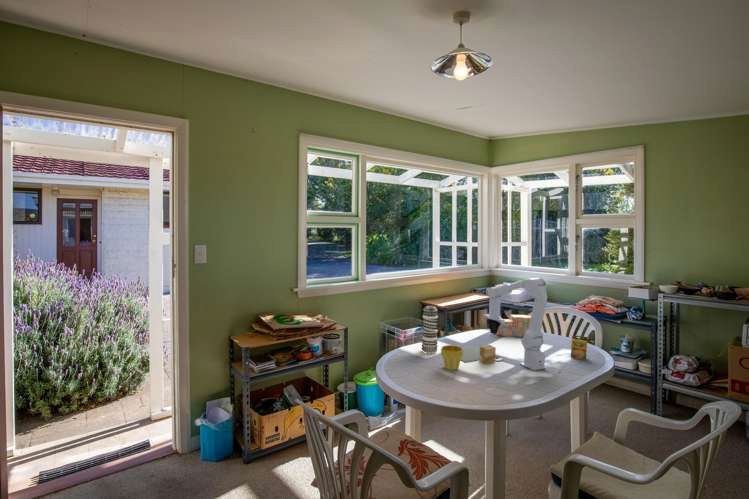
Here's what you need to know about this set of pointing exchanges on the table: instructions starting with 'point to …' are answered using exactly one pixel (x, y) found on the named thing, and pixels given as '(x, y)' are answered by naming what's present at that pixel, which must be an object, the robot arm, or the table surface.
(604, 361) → the table surface
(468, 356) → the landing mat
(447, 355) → the plant pot
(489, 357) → the oak block
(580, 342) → the crayon box
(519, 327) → the stack of blocks
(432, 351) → the decorative candle
